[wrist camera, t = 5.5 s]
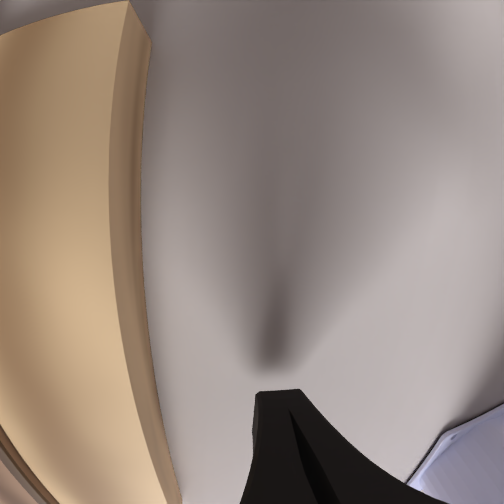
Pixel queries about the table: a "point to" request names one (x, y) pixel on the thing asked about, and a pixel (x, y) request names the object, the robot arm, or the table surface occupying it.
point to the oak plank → (78, 260)
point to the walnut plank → (19, 478)
